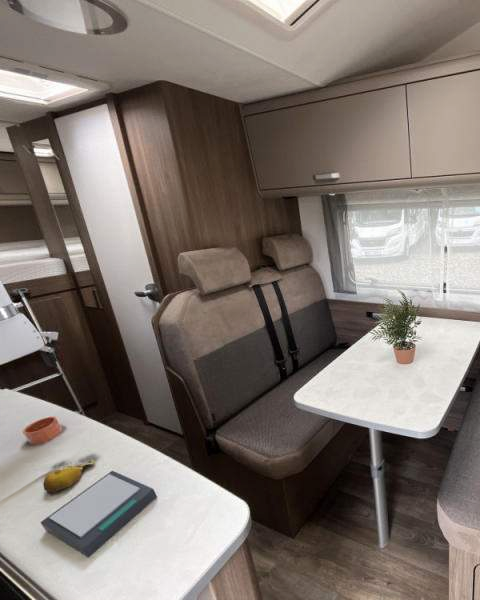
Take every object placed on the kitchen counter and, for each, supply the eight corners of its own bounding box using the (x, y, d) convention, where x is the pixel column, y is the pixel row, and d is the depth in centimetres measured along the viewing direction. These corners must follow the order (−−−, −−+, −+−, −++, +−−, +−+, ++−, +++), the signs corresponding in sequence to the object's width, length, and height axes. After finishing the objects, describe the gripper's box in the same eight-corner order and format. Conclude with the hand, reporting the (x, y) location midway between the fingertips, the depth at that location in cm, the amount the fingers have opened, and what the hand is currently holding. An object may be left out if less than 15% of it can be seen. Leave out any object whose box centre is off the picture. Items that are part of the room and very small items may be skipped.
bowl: (27, 445, 82) (17, 430, 80) (57, 428, 87) (49, 414, 85) (39, 451, 80) (30, 435, 78) (69, 433, 85) (61, 419, 83)
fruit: (99, 458, 76) (93, 447, 75) (81, 487, 69) (74, 475, 68) (55, 470, 74) (48, 459, 72) (32, 502, 66) (24, 489, 65)
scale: (46, 530, 60) (38, 520, 59) (116, 478, 71) (111, 469, 70) (88, 557, 56) (81, 547, 55) (157, 497, 66) (152, 487, 65)
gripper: (31, 300, 82) (61, 357, 88) (-77, 330, 66) (-32, 396, 72) (50, 302, 79) (78, 360, 86) (-58, 333, 64) (-13, 401, 70)
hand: (28, 376), depth 79 cm, fingers open, 9 cm apart
